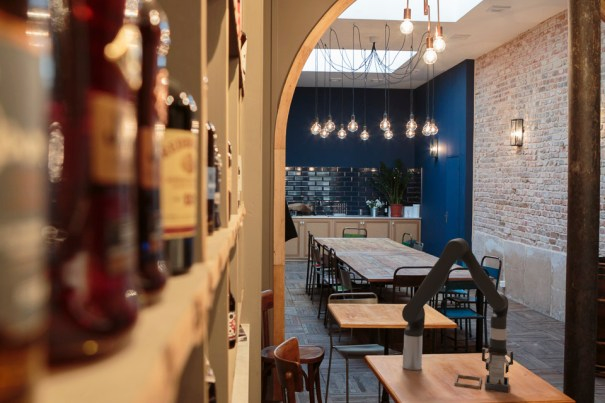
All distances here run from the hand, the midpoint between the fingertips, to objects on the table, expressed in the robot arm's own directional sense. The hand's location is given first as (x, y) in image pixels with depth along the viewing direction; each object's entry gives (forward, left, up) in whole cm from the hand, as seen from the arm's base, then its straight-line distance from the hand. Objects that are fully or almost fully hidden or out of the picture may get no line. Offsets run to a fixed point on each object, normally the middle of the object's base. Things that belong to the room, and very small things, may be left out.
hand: (497, 371), depth 262 cm
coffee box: (0, 0, -7) cm, 7 cm away
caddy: (0, 0, -7) cm, 7 cm away
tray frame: (-13, 0, -7) cm, 15 cm away
